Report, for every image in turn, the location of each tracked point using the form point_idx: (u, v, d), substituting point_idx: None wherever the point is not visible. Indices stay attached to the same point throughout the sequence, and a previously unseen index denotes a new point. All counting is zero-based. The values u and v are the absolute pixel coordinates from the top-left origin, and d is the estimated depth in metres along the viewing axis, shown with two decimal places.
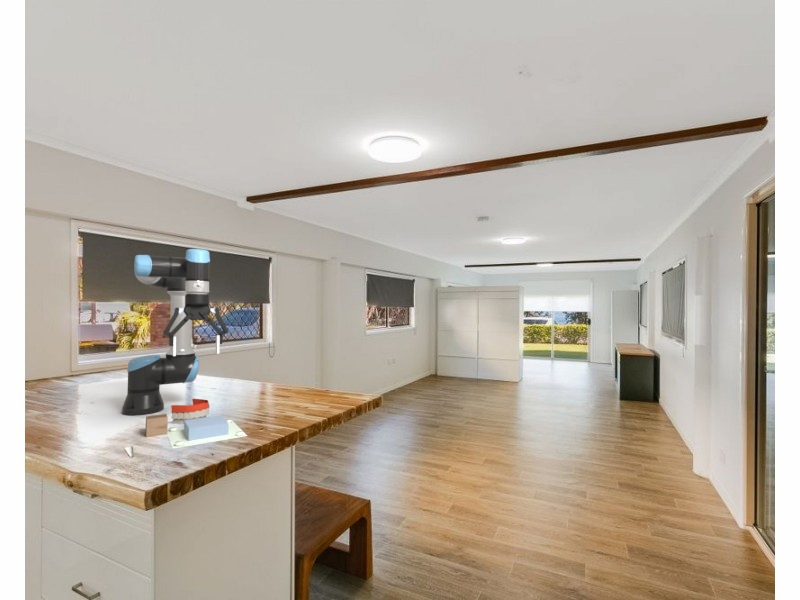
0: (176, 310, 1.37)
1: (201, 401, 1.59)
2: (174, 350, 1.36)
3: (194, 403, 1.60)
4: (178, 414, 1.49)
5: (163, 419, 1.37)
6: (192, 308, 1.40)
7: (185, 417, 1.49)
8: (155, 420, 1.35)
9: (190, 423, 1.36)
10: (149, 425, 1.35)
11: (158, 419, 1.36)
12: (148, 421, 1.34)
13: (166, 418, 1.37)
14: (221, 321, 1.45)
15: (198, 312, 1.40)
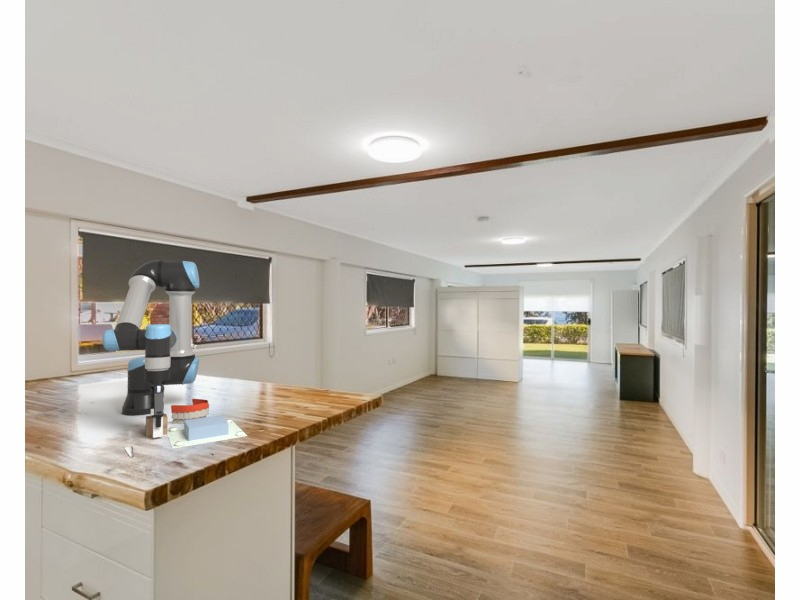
0: (151, 384, 1.43)
1: (201, 401, 1.59)
2: None
3: (194, 403, 1.60)
4: (178, 414, 1.49)
5: (163, 419, 1.37)
6: (153, 384, 1.39)
7: (185, 417, 1.49)
8: None
9: (190, 423, 1.36)
10: (149, 425, 1.35)
11: None
12: (148, 421, 1.34)
13: (166, 418, 1.37)
14: (154, 402, 1.31)
15: None
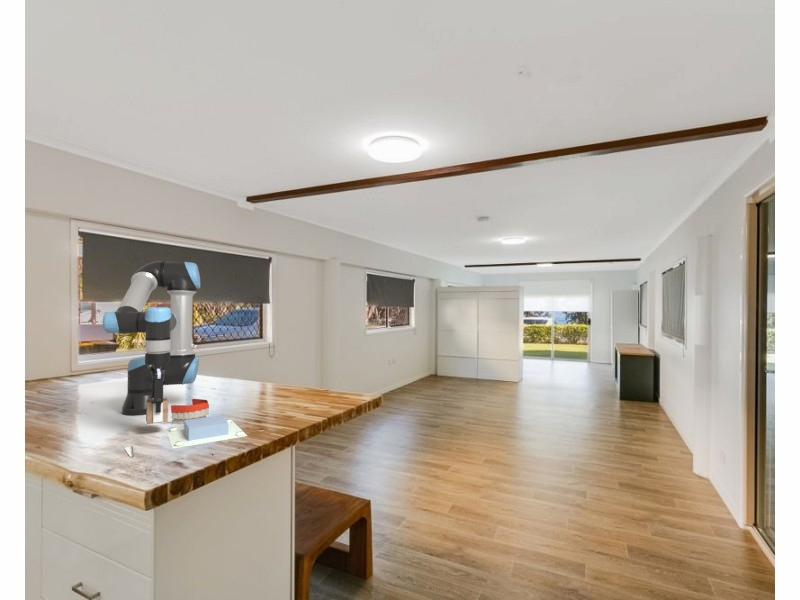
0: None
1: (201, 401, 1.59)
2: None
3: (194, 403, 1.60)
4: (178, 414, 1.49)
5: (163, 403, 1.37)
6: (153, 365, 1.40)
7: (185, 417, 1.49)
8: None
9: (190, 423, 1.36)
10: (150, 408, 1.35)
11: None
12: (149, 404, 1.35)
13: (167, 402, 1.38)
14: (154, 388, 1.33)
15: None
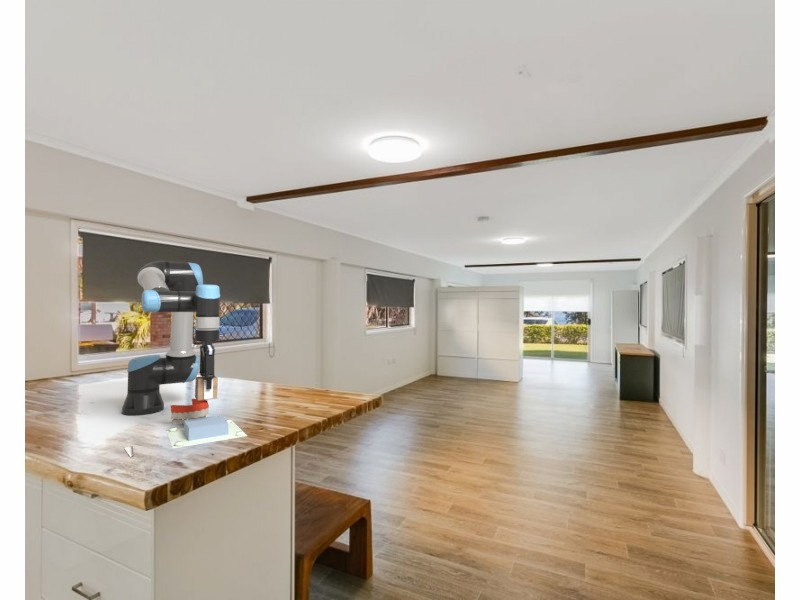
0: None
1: (200, 401, 1.59)
2: None
3: (193, 403, 1.60)
4: (177, 414, 1.49)
5: (213, 379, 1.38)
6: (202, 342, 1.40)
7: (184, 417, 1.49)
8: None
9: (190, 423, 1.36)
10: (200, 384, 1.35)
11: None
12: (199, 380, 1.35)
13: (216, 379, 1.38)
14: (206, 364, 1.34)
15: None
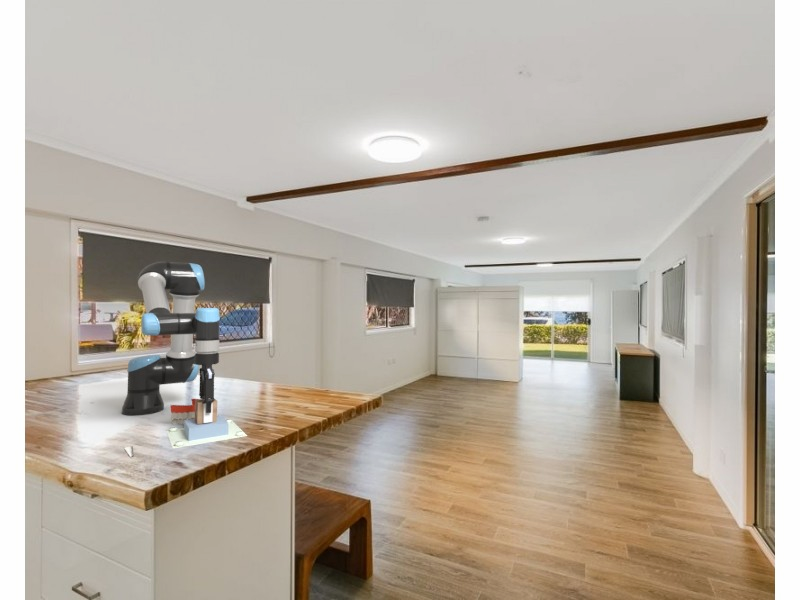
0: None
1: None
2: None
3: (193, 403, 1.60)
4: (177, 414, 1.49)
5: (213, 403, 1.37)
6: (202, 365, 1.40)
7: (184, 417, 1.49)
8: None
9: (190, 423, 1.36)
10: (200, 408, 1.35)
11: None
12: (199, 404, 1.35)
13: (216, 402, 1.38)
14: (205, 388, 1.34)
15: None
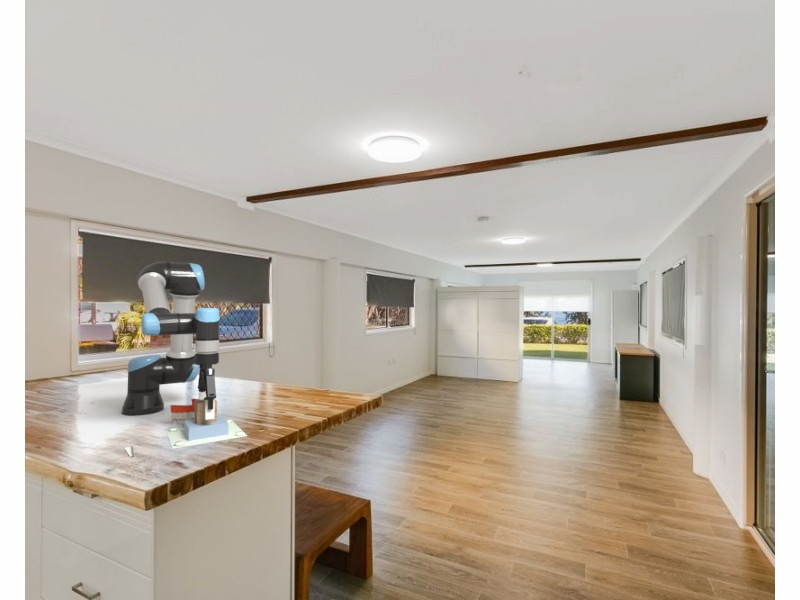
0: None
1: None
2: None
3: (193, 403, 1.60)
4: (177, 414, 1.49)
5: None
6: (202, 367, 1.40)
7: (184, 417, 1.49)
8: None
9: (190, 423, 1.36)
10: (200, 409, 1.35)
11: None
12: (199, 405, 1.35)
13: (215, 402, 1.38)
14: (206, 384, 1.32)
15: None
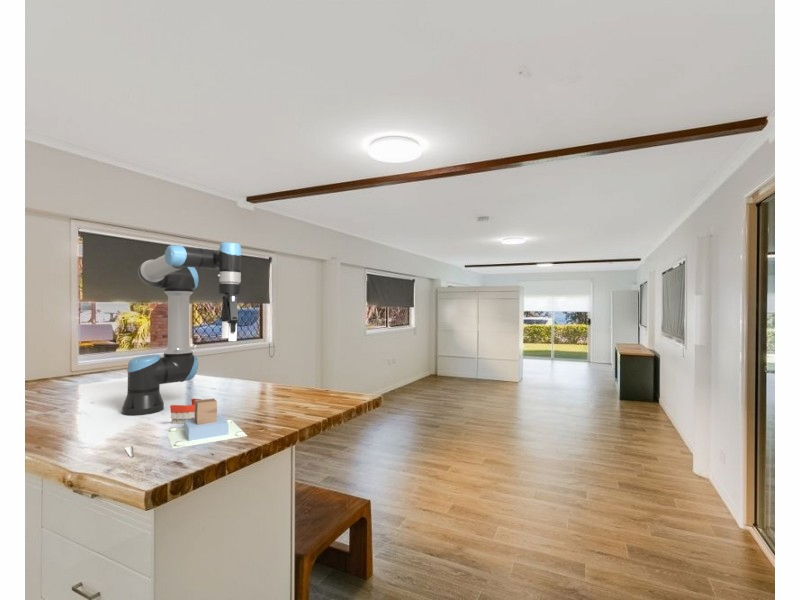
0: None
1: None
2: None
3: (193, 403, 1.60)
4: (177, 414, 1.49)
5: (212, 403, 1.37)
6: (225, 297, 1.54)
7: (184, 417, 1.49)
8: (205, 404, 1.36)
9: (190, 423, 1.36)
10: (200, 409, 1.35)
11: (208, 403, 1.37)
12: (199, 405, 1.35)
13: (215, 402, 1.38)
14: (230, 309, 1.46)
15: None
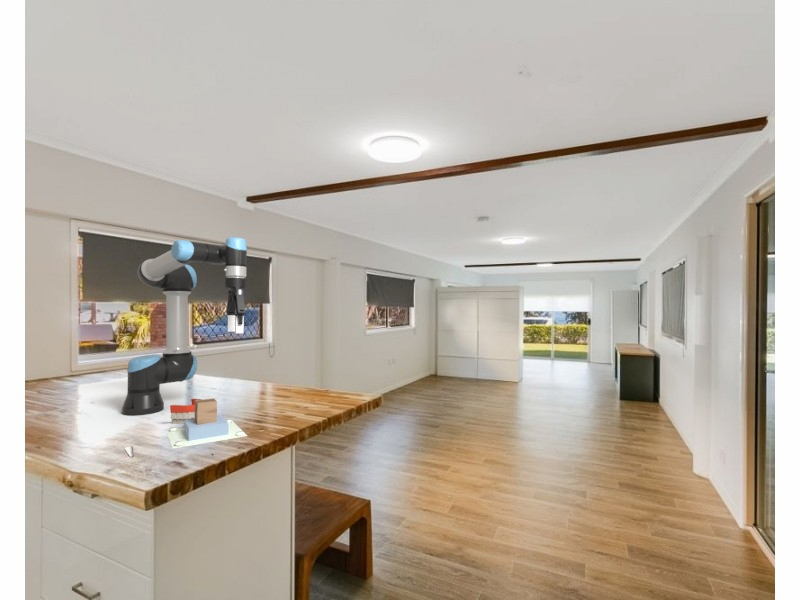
0: (228, 293, 1.62)
1: None
2: None
3: (193, 403, 1.60)
4: (177, 414, 1.49)
5: (212, 403, 1.37)
6: (231, 291, 1.58)
7: (184, 417, 1.49)
8: (205, 404, 1.36)
9: (190, 423, 1.36)
10: (200, 409, 1.35)
11: (208, 403, 1.37)
12: (199, 405, 1.35)
13: (215, 402, 1.38)
14: (237, 302, 1.50)
15: None
